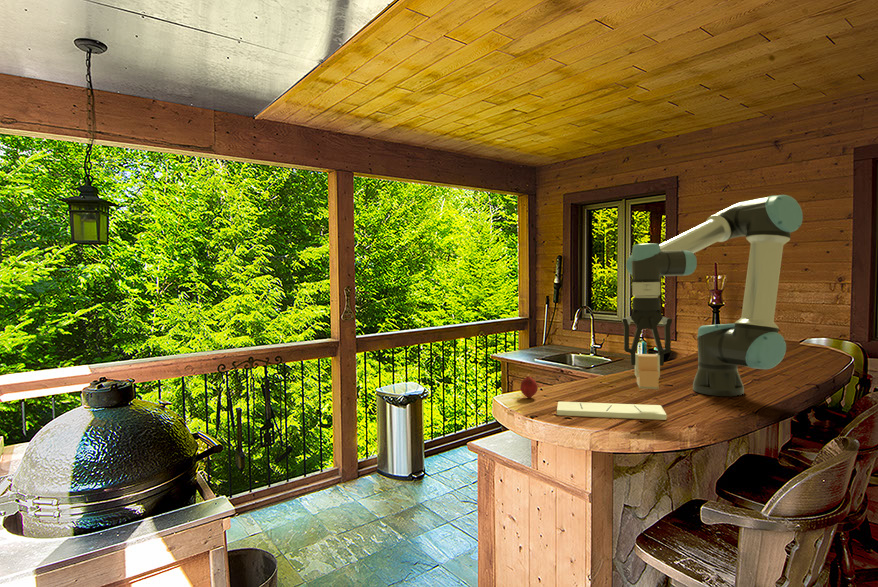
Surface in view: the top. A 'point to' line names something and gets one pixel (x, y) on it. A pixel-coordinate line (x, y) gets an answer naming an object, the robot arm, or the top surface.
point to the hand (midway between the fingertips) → (647, 376)
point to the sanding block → (648, 371)
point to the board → (611, 410)
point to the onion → (529, 387)
